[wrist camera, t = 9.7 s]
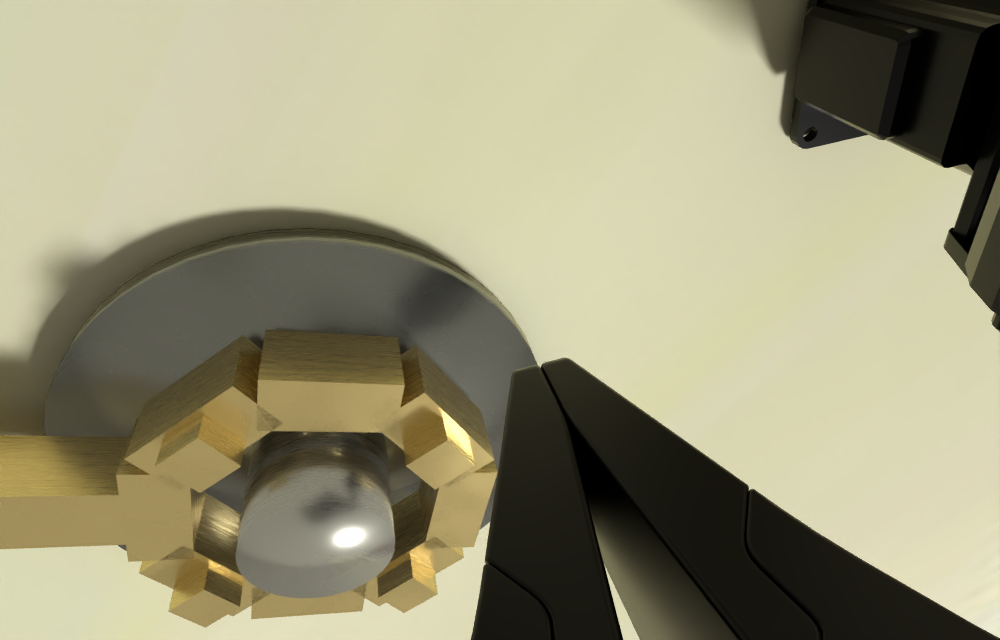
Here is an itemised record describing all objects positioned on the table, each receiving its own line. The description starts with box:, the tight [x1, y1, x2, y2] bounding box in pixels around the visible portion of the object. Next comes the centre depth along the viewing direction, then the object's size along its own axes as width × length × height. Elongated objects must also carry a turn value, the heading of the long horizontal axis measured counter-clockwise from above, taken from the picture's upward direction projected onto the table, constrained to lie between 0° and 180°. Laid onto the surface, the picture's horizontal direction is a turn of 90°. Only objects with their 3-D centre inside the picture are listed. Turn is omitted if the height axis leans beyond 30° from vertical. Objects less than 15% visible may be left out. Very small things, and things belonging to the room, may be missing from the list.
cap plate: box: [44, 229, 538, 598], centre depth 23 cm, size 18×18×6 cm
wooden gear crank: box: [0, 329, 498, 627], centre depth 21 cm, size 20×12×4 cm, turn 77°
